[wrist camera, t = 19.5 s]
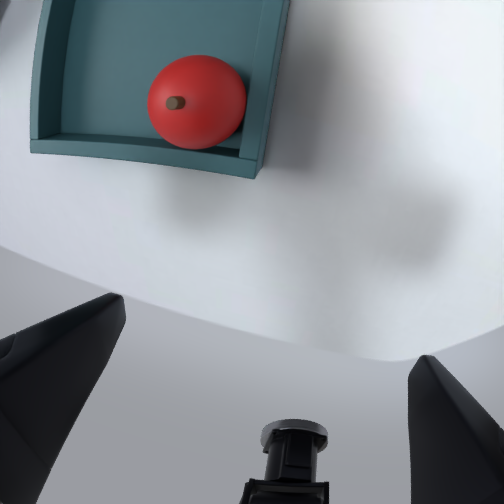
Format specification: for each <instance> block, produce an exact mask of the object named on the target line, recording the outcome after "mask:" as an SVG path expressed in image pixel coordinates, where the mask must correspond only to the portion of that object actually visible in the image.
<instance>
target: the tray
mask: <svg viewBox="0 0 504 504" xmlns="http://www.w3.org/2000/svg"><path fill="white" fill-rule="evenodd" d="M289 3H290V0H44V2H43V6H42V11H41V16H40V21H39V26H38V32H37V38H36V45H35V52H34V61H33V70H32V82H31V98H30V139H31V140H30V153H40V154H57V155H71V156H84V157H96V158H106V159H116V160H126V161H135V162H143V163H151V164H159V165H167V166H174V167H181V168H188V169H195V170H201V171H208V172H214V173H220V174H226V175H232V176H238V177H244V178H249V179H255V178H256V176H257V174H258V173H259V171H260V169H261V168H262V165H263V159H264V153H265V147H266V141H267V134H268V128H269V122H270V116H271V110H272V104H273V98H274V92H275V86H276V80H277V74H278V68H279V62H280V56H281V50H282V44H283V38H284V32H285V27H286V21H287V15H288V9H289ZM191 55H208V56H212V57H216V58H218V59H221V60H223V61H224V62H226V63H228V64H229V65H230V66H231V67H233V68H234V70H235V71H236V72H237V73H238V74H239V76H240V77H241V79H242V81H243V83H244V86H245V89H246V94H247V103H246V110H245V114H244V117H243V120H242V121H241V123H240V125H239V126H238V128H237V129H236V130H235V132H234V133H233V134H232V135H231V136H229V137H228V138H227V139H226V140H224V141H223V142H221V143H219V144H217V145H215V146H212V147H209V148H204V149H186V148H181V147H178V146H175V145H173V144H171V143H169V142H168V141H166V140H165V139H164V138H163V137H161V136H160V135H159V133H158V132H157V131H156V130H155V128H154V127H153V125H152V123H151V120H150V118H149V114H148V108H147V100H148V94H149V90H150V87H151V85H152V83H153V81H154V79H155V78H156V76H157V75H158V74H159V72H160V71H161V70H162V69H163V68H165V67H166V66H167V65H169V64H170V63H172V62H173V61H175V60H177V59H180V58H182V57H186V56H191Z"/></svg>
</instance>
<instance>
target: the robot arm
mask: <svg viewBox="0 0 504 504" xmlns="http://www.w3.org/2000/svg"><path fill="white" fill-rule="evenodd" d="M125 321H126V313H125V305H124V299H123V297H122V296H121V295H118V294H115V293H107V294H105V295H103V296H100V297H98V298H95V299H93V300H91V301H88V302H86V303H84V304H82V305H79V306H77V307H74V308H72V309H70V310H67V311H65V312H63V313H60V314H58V315H56V316H53V317H51V318H49V319H46V320H44V321H42V322H40V323H37V324H35V325H33V326H30V327H28V328H26V329H24V330H21V331H19V332H17V333H16V334H12V335H10V336H8V337H5V338H3V339H1V340H0V504H36V502H37V500H38V497H39V495H40V493H41V491H42V489H43V486H44V484H45V482H46V480H47V478H48V476H49V474H50V471H51V468H52V467H53V465H54V463H55V461H56V459H57V457H58V455H59V452H60V450H61V448H62V446H63V444H64V442H65V440H66V438H67V437H68V435H69V432H70V431H71V429H72V427H73V425H74V423H75V421H76V419H77V417H78V415H79V413H80V412H81V410H82V408H83V406H84V404H85V402H86V400H87V399H88V397H89V395H90V393H91V391H92V390H93V388H94V386H95V384H96V382H97V381H98V379H99V377H100V375H101V374H102V372H103V370H104V368H105V367H106V365H107V363H108V361H109V358H110V356H111V354H112V352H113V349H114V347H115V345H116V342H117V340H118V338H119V336H120V333H121V331H122V329H123V327H124V324H125ZM408 429H409V443H410V462H411V504H504V430H503V429H502V428H500V426H499V425H498V424H497V423H496V422H495V420H494V419H493V418H492V417H491V416H490V415H489V414H488V413H487V412H486V410H485V409H484V408H483V407H482V406H481V405H480V404H479V403H478V402H477V401H476V400H475V399H474V397H473V396H472V395H471V394H470V393H469V392H468V391H467V390H466V389H465V388H464V387H463V386H462V385H461V384H460V382H459V381H458V380H457V379H456V378H455V377H454V376H453V375H452V374H451V373H450V372H449V371H448V370H447V369H446V368H445V367H444V366H443V365H442V364H441V363H440V362H439V361H438V360H437V359H436V358H435V357H434V356H431V355H422V356H421V357H420V358H419V359H418V361H417V362H416V364H415V365H414V367H413V369H412V370H411V372H410V374H409V377H408ZM326 441H327V436H326V435H319V434H311V433H303V432H296V431H289V430H282V429H272V431H271V433H270V435H269V438H268V440H267V442H266V444H265V446H264V449H263V453H266V454H268V460H267V466H266V473H265V479H264V480H255V479H252V478H250V480H249V482H247V483H245V487H244V492H243V496H242V498H241V501H240V503H239V504H329V482H316V467H317V452H318V451H319V450H320V449H321V447H322V446H323V445H324V444H325V442H326Z"/></svg>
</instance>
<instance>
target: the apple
mask: <svg viewBox="0 0 504 504" xmlns="http://www.w3.org/2000/svg"><path fill="white" fill-rule="evenodd" d="M246 103H247V94H246V89H245V86H244V83H243V81H242V79H241V77H240V76H239V74H238V73H237V72H236V71H235V70H234V68H233V67H231V66H230V65H229V64H228V63H226V62H224V61H223V60H221V59H218V58H216V57H212V56H208V55H191V56H186V57H182V58H180V59H177V60H175V61H173V62H172V63H170V64H169V65H167V66H166V67H165V68H163V69H162V70H161V71H160V72H159V74H158V75H157V76H156V78H155V79H154V81H153V83H152V85H151V87H150V90H149V94H148V100H147V108H148V114H149V118H150V120H151V123H152V125H153V127H154V128H155V130H156V131H157V132H158V133H159V135H160V136H161V137H163V138H164V139H165V140H166V141H168V142H169V143H171V144H173V145H175V146H178V147H181V148H186V149H204V148H209V147H212V146H215V145H217V144H219V143H221V142H223V141H224V140H226V139H227V138H228V137H229V136H231V135H232V134H233V133H234V132H235V130H236V129H237V128H238V126H239V125H240V123H241V121H242V120H243V117H244V114H245V110H246Z"/></svg>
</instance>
